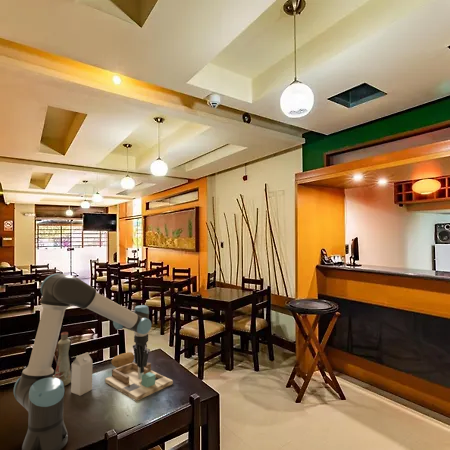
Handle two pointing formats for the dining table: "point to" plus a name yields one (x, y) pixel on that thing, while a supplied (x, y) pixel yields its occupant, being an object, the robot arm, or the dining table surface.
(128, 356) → the potato
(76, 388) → the milk carton
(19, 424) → the dining table surface
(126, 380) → the cubby board
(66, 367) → the bottle
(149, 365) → the walnut cube
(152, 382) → the teal block
